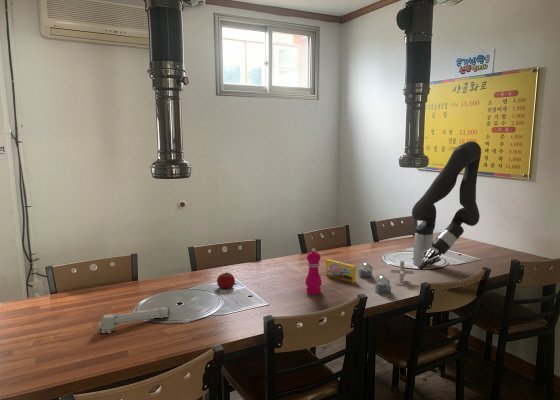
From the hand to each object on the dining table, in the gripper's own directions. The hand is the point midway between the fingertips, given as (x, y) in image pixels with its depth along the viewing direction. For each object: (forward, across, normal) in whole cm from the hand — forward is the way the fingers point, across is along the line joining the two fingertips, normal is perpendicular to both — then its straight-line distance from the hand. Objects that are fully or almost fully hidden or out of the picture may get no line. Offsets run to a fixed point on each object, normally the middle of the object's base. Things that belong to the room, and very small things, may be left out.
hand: (419, 268), depth 192 cm
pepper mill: (+42, +4, -33) cm, 53 cm away
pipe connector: (+10, -1, -2) cm, 11 cm away
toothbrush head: (+94, +22, -84) cm, 128 cm away
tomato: (+68, -9, -60) cm, 91 cm away
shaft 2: (+20, +9, -12) cm, 25 cm away
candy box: (+30, -10, -21) cm, 38 cm away
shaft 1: (+20, -10, -12) cm, 25 cm away
